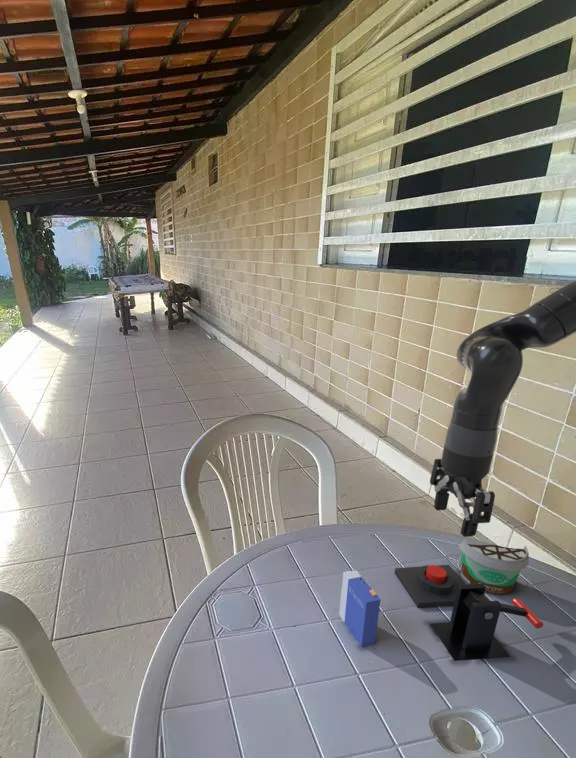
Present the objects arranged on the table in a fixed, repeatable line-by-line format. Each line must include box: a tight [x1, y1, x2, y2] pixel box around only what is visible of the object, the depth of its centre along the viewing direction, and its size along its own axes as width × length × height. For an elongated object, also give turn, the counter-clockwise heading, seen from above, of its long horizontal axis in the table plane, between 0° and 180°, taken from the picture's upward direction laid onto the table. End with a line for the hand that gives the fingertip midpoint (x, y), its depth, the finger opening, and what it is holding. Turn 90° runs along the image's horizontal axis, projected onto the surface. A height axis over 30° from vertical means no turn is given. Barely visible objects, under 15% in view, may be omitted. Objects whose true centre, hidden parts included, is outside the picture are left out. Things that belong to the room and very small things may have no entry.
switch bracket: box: [428, 583, 512, 662], centre depth 75 cm, size 10×8×12 cm
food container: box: [458, 539, 530, 596], centre depth 87 cm, size 12×6×10 cm, turn 76°
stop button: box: [426, 564, 447, 584], centre depth 88 cm, size 4×4×2 cm
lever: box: [463, 591, 544, 629], centre depth 74 cm, size 12×6×2 cm, turn 91°
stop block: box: [393, 564, 467, 609], centre depth 89 cm, size 12×10×4 cm
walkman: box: [338, 569, 381, 648], centre depth 79 cm, size 8×3×12 cm, turn 11°
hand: (452, 521), depth 81 cm, fingers open, 8 cm apart
